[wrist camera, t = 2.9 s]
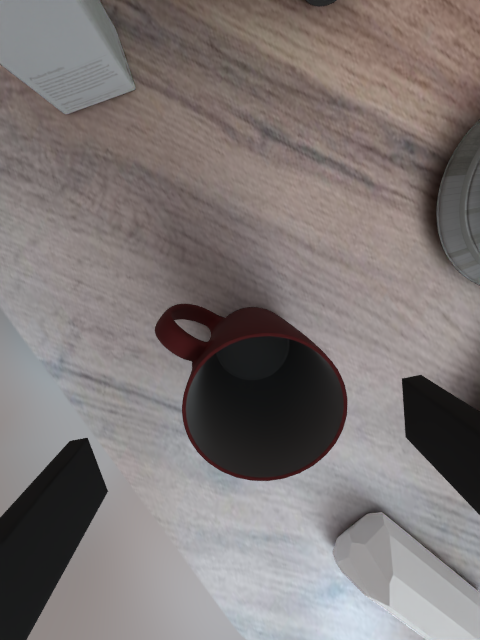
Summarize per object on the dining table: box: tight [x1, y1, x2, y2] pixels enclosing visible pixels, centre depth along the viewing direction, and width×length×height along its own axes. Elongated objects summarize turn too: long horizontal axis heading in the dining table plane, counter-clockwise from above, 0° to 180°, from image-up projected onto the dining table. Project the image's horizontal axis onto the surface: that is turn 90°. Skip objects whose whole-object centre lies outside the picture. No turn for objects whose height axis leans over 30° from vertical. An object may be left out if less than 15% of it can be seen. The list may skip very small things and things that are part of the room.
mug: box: [155, 304, 347, 481], centre depth 19 cm, size 12×9×11 cm
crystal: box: [333, 512, 480, 640], centre depth 29 cm, size 7×7×24 cm
